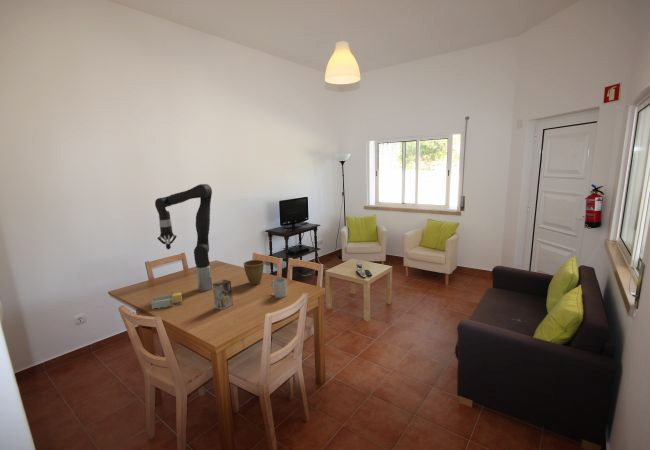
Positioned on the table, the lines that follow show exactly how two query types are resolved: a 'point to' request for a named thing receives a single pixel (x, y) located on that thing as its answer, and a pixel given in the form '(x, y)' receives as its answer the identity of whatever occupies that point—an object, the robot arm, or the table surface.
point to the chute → (163, 301)
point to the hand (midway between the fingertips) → (168, 249)
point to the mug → (279, 287)
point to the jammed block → (177, 297)
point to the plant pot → (254, 271)
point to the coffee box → (222, 294)
